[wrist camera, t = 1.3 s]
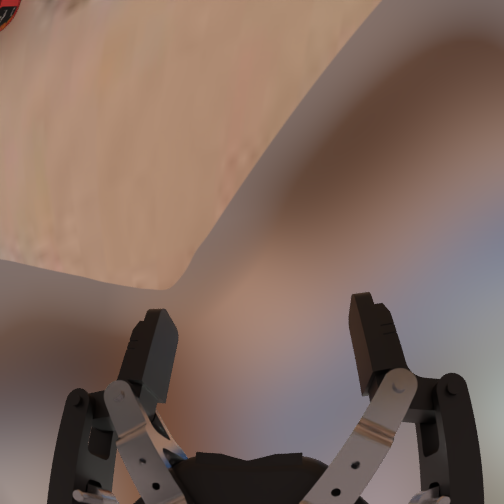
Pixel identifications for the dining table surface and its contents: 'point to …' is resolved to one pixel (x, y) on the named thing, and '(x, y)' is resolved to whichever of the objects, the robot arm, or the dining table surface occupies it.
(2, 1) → the canned food
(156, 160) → the dining table surface
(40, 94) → the dining table surface
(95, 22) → the dining table surface
